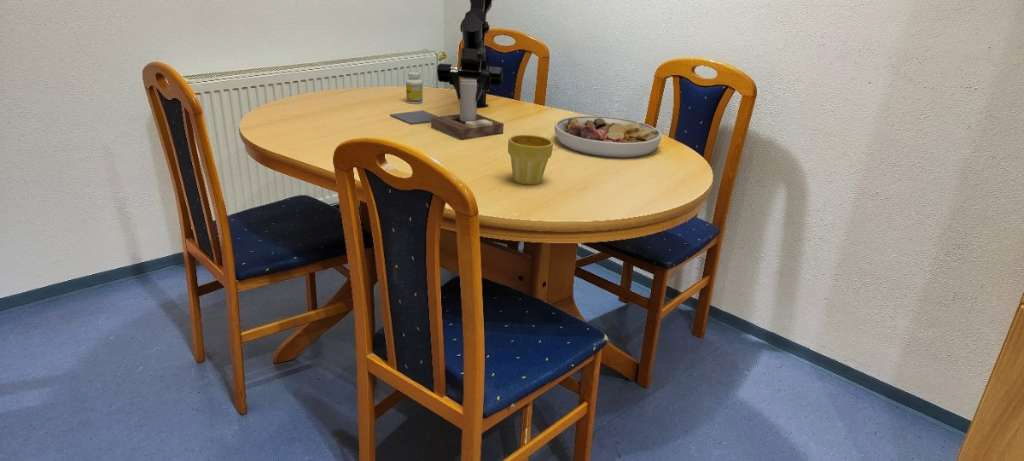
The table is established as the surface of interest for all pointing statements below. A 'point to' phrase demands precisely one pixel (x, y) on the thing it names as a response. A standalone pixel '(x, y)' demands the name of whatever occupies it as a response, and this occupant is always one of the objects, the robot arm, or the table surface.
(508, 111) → the table surface
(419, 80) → the supplement bottle
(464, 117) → the beverage can
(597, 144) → the bowl
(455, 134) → the puzzle board
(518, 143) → the plant pot
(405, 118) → the rubber mat
